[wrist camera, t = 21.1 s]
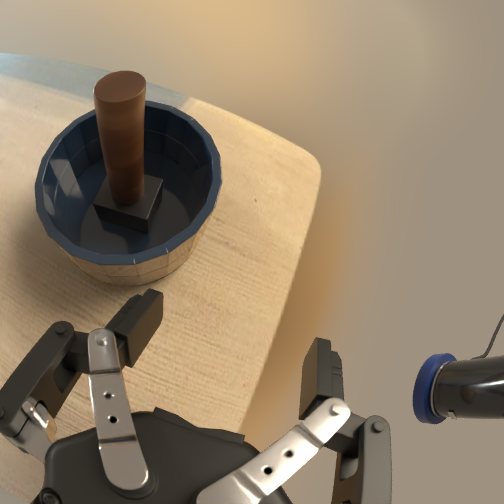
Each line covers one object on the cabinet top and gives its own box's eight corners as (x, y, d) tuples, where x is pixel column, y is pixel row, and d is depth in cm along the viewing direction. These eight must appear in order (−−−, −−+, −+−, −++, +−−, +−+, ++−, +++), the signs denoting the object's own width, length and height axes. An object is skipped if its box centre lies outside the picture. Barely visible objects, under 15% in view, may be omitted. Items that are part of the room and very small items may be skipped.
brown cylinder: (162, 195, 25) (178, 73, 12) (148, 234, 23) (146, 120, 11) (114, 182, 24) (100, 60, 11) (98, 218, 22) (59, 103, 9)
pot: (221, 170, 28) (239, 126, 22) (183, 306, 23) (192, 293, 17) (98, 136, 25) (91, 89, 19) (39, 258, 20) (5, 230, 13)
